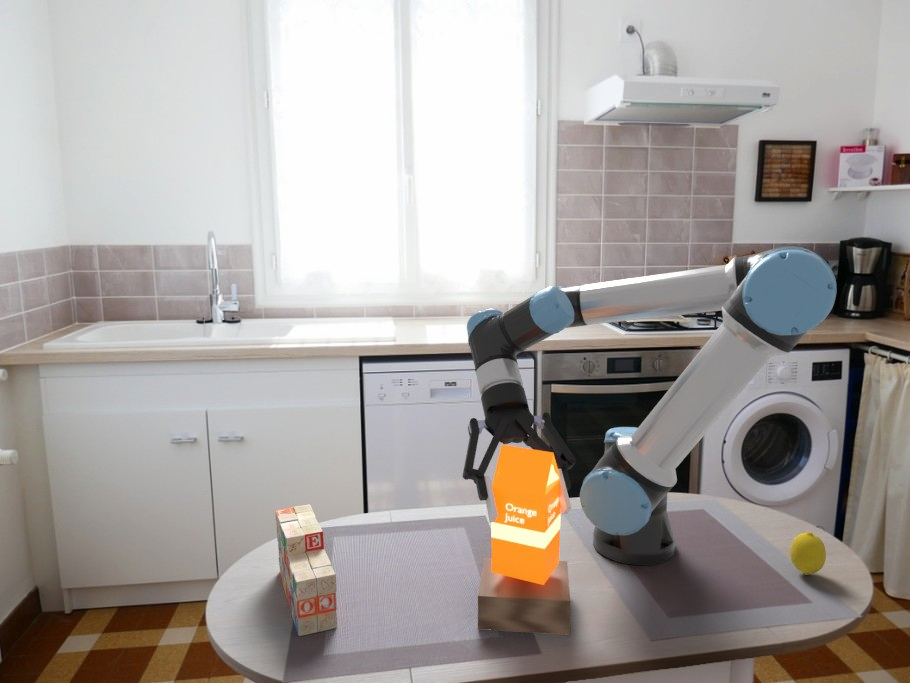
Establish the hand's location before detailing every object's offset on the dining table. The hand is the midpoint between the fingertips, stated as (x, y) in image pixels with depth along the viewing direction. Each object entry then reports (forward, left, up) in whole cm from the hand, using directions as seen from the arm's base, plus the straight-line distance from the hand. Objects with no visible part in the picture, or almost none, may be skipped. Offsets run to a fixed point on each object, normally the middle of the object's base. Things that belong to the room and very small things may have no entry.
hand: (530, 515), depth 107 cm
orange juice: (+1, -3, -10) cm, 11 cm away
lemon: (-49, -15, -18) cm, 54 cm away
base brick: (+1, -3, -18) cm, 18 cm away
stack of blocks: (+37, -6, -18) cm, 42 cm away
